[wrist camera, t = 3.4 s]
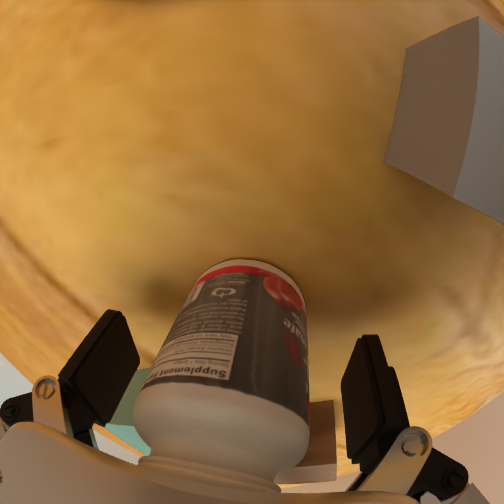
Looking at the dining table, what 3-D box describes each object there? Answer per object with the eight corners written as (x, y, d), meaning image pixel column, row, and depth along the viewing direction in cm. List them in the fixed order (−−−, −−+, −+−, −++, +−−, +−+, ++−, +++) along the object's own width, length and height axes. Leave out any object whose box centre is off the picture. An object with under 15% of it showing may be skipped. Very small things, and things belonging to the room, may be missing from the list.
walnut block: (333, 398, 16) (336, 463, 11) (334, 427, 18) (336, 480, 13) (261, 405, 17) (252, 467, 12) (274, 433, 19) (269, 484, 14)
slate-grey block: (493, 102, 7) (570, 113, 2) (471, 199, 9) (542, 249, 4) (406, 49, 7) (478, 16, 2) (382, 161, 9) (452, 197, 5)
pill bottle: (321, 328, 13) (328, 531, 4) (227, 353, 14) (184, 521, 6) (276, 235, 11) (238, 523, 2) (172, 278, 12) (63, 467, 4)
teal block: (169, 363, 16) (142, 426, 11) (213, 404, 17) (197, 461, 13) (124, 371, 17) (97, 422, 13) (166, 408, 19) (148, 456, 15)
